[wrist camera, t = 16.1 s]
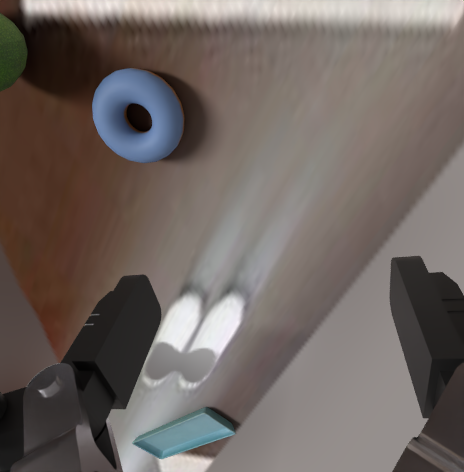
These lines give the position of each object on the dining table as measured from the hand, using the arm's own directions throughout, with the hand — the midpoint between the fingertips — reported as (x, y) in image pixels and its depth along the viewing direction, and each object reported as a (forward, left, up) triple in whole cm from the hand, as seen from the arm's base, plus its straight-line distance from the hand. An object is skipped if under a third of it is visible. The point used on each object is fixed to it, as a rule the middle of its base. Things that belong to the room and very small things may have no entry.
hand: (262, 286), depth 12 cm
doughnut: (+15, -2, -31) cm, 34 cm away
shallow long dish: (+43, +62, -31) cm, 81 cm away
